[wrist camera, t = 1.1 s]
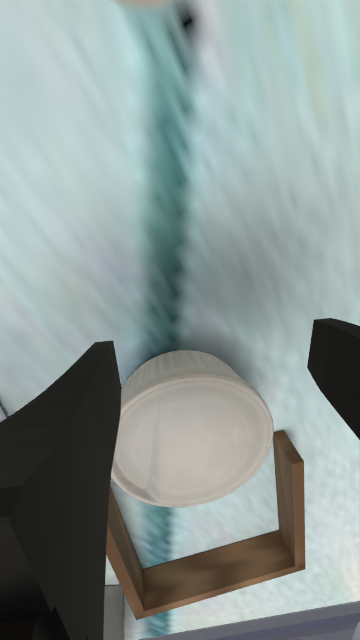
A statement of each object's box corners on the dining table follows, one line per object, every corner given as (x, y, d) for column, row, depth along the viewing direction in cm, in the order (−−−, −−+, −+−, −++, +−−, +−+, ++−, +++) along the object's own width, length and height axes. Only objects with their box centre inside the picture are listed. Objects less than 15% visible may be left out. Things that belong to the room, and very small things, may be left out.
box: (135, 577, 33) (136, 620, 29) (94, 479, 26) (90, 519, 23) (288, 533, 34) (305, 569, 31) (283, 430, 28) (303, 461, 25)
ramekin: (76, 385, 23) (63, 437, 18) (208, 307, 22) (230, 340, 17) (155, 472, 27) (161, 531, 23) (266, 410, 27) (297, 458, 22)
